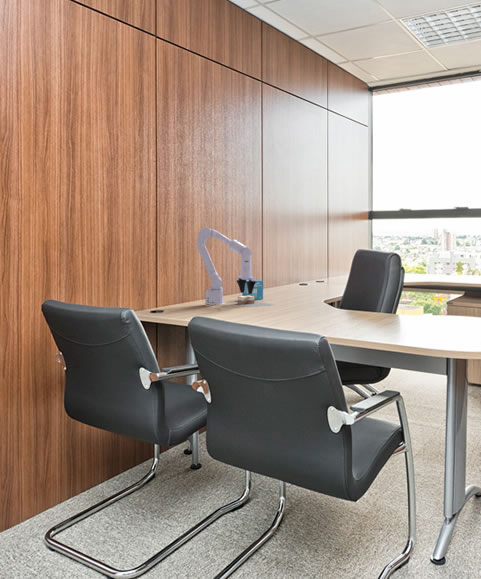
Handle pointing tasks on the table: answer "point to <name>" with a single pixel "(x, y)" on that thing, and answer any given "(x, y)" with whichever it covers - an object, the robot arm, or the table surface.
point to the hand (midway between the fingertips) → (246, 293)
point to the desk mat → (254, 304)
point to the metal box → (245, 299)
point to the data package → (255, 290)
